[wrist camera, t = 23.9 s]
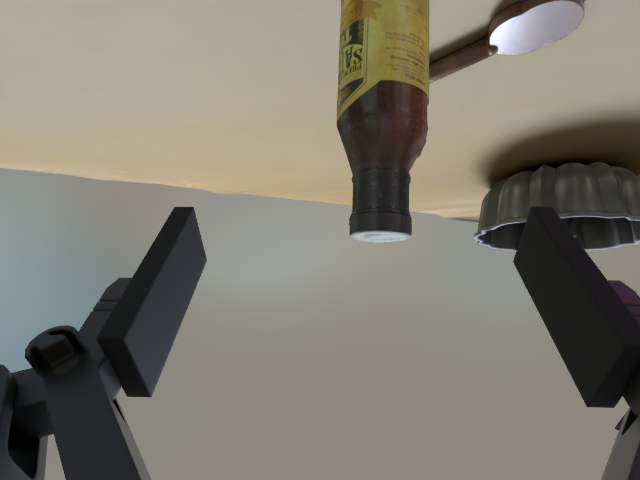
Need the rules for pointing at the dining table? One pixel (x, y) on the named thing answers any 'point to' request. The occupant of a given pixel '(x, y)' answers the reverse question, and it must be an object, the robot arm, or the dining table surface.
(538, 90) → the dining table surface
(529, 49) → the wooden spoon
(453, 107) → the dining table surface
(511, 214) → the bundt pan
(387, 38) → the sauce bottle
